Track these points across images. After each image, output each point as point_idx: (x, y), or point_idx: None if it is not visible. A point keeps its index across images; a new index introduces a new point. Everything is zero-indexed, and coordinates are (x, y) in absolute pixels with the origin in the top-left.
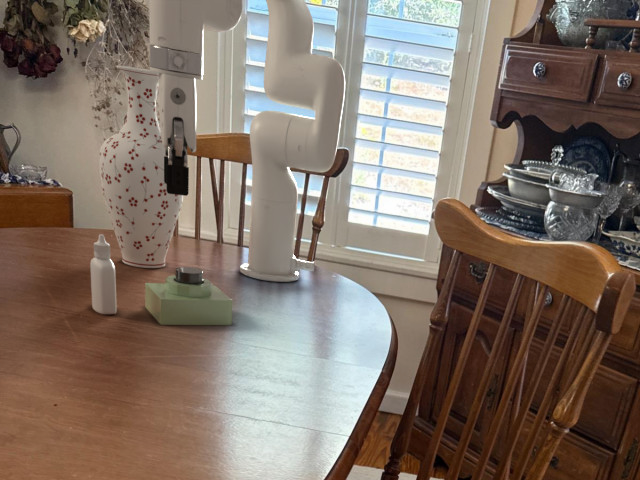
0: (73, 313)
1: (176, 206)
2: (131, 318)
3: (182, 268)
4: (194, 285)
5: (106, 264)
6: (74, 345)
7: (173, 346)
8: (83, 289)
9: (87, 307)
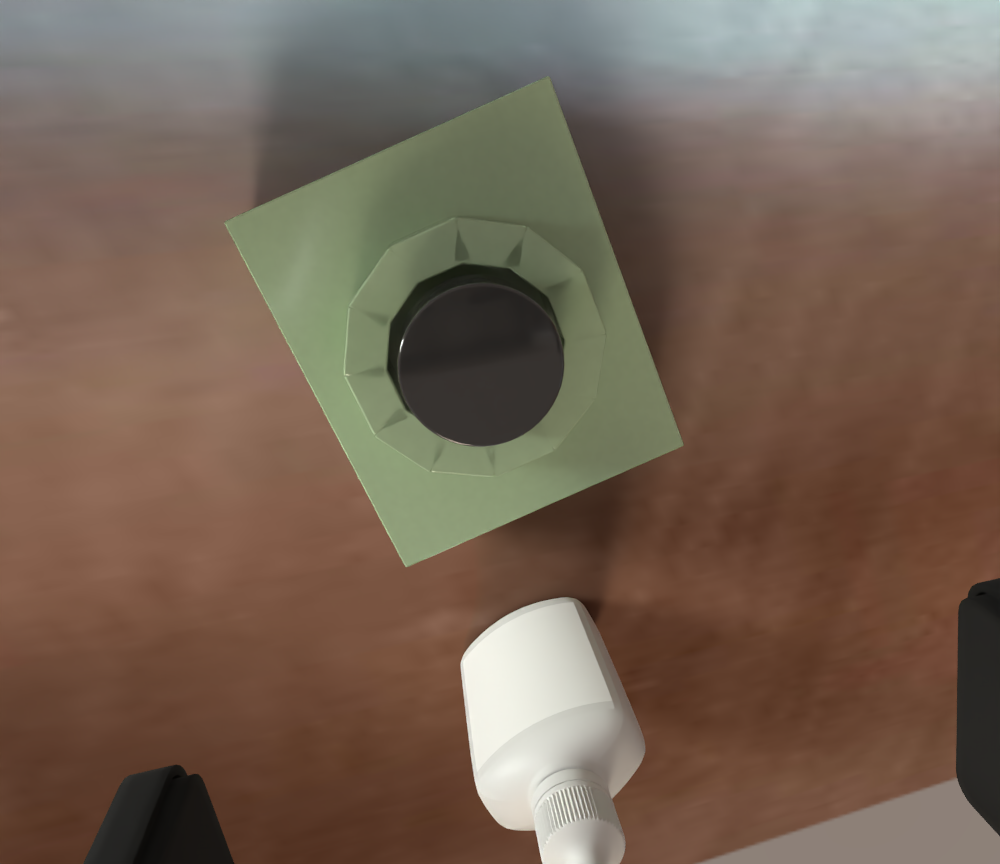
0: None
1: None
2: (593, 532)
3: (457, 411)
4: (576, 309)
5: (629, 752)
6: None
7: (914, 318)
8: (248, 783)
9: None
